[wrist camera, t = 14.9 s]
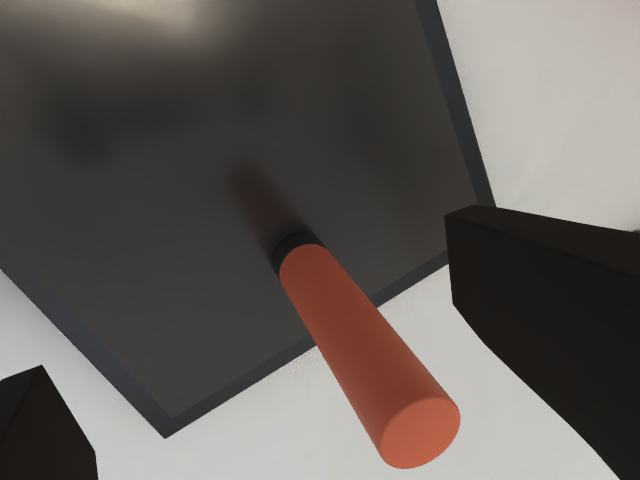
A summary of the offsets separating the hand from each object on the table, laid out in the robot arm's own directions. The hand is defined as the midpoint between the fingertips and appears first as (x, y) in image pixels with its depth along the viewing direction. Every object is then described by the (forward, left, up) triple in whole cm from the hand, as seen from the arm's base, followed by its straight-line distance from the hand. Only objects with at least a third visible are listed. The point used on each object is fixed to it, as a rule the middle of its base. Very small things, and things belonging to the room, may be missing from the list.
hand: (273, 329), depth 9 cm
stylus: (+1, -4, -9) cm, 10 cm away
